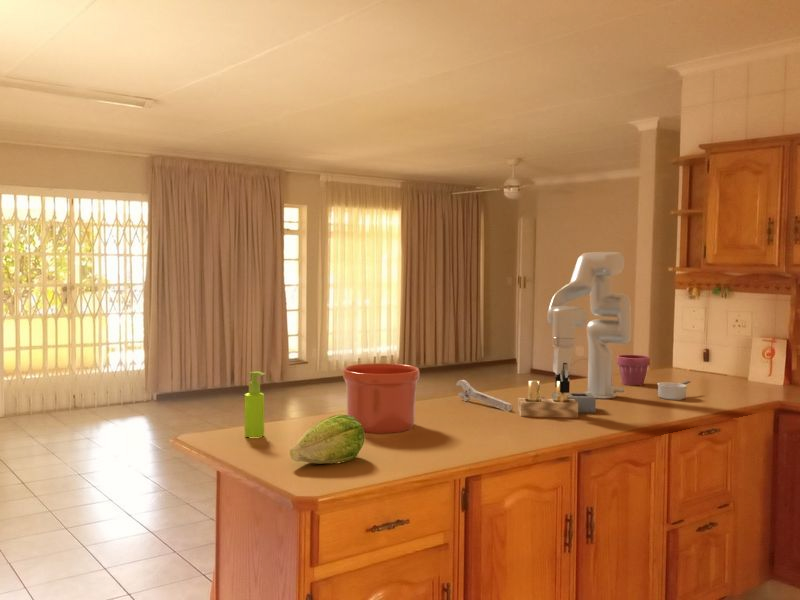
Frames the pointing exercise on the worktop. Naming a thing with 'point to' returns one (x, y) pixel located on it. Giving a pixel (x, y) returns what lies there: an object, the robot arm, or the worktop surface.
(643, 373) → the plant pot
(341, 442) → the green papaya
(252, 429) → the soap dispenser
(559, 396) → the gold cylinder
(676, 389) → the saucepan
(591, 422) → the worktop surface
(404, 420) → the pot
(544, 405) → the rack
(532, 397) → the amber rod
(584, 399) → the socket block
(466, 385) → the wrench
